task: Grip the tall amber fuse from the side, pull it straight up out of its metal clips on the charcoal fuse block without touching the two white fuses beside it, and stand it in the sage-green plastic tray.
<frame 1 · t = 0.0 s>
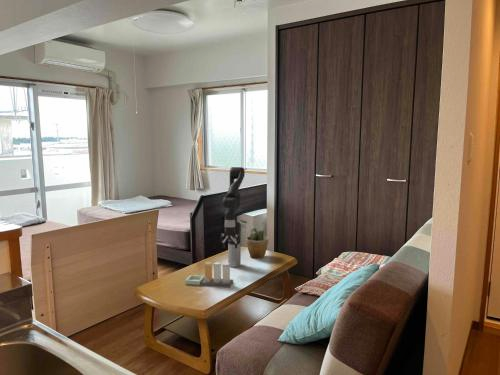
hand: (229, 248, 268), 17 cm above the table, tool pointing down, fingers open, 8 cm apart
amber fuse: (208, 280, 248), point 2 cm above the table, touching fuse block
end white fuse: (226, 281, 245), point 2 cm above the table, touching fuse block
potted plant: (257, 257, 304), on the table
fuse block: (217, 284, 247), on the table
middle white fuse: (217, 281, 247), point 2 cm above the table, touching fuse block
tray: (195, 282, 250), on the table
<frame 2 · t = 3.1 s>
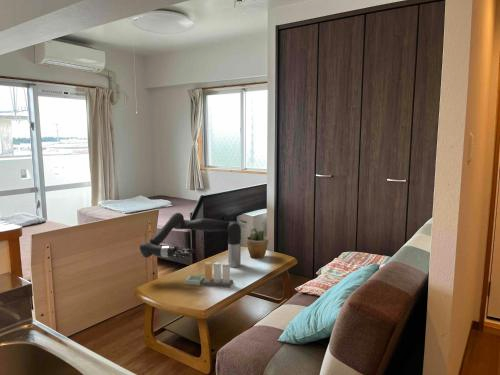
hand: (192, 253, 248), 20 cm above the table, tool horizontal, fingers open, 8 cm apart
nothing on the table moved.
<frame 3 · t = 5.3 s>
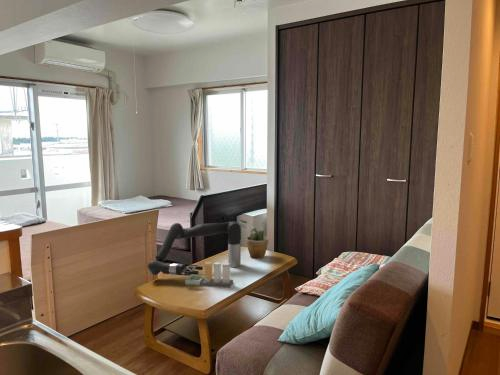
hand: (200, 270, 247), 9 cm above the table, tool horizontal, fingers open, 8 cm apart
nothing on the table moved.
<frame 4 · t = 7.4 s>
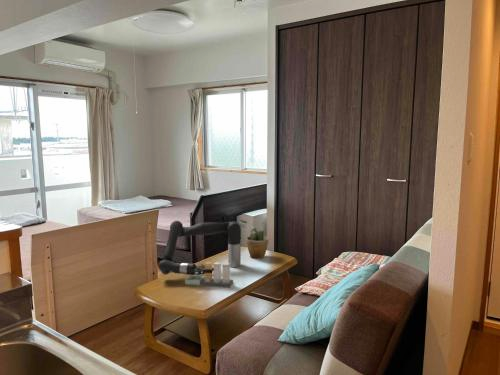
hand: (212, 270, 246), 9 cm above the table, tool horizontal, fingers closed on amber fuse, 3 cm apart
amber fuse: (208, 280, 248), point 2 cm above the table, touching fuse block, gripper
everything else where it was.
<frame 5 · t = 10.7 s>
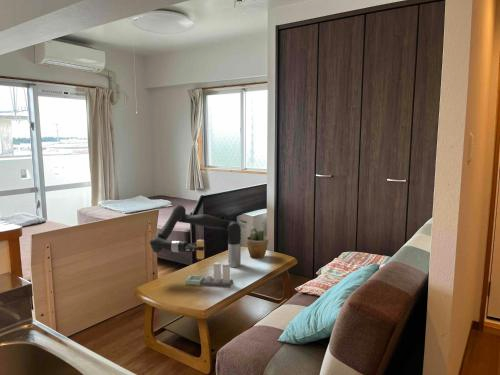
hand: (204, 248, 245), 24 cm above the table, tool horizontal, fingers closed on amber fuse, 3 cm apart
amber fuse: (200, 258, 247), point 17 cm above the table, touching gripper
everything else where it was.
when the fingers open (10 cm above the table, at t = 14.0 s): amber fuse drops 3 cm, resting on tray.
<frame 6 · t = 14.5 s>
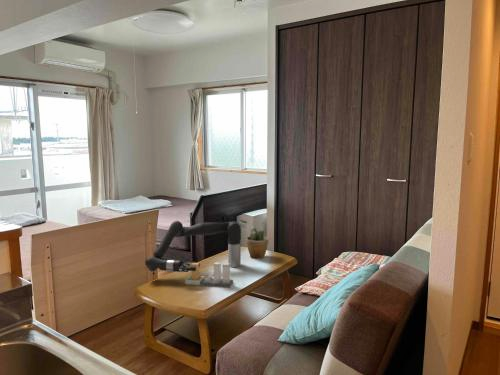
hand: (197, 267, 248), 11 cm above the table, tool horizontal, fingers open, 7 cm apart
amber fuse: (195, 281, 250), point 1 cm above the table, touching tray
everything else where it was.
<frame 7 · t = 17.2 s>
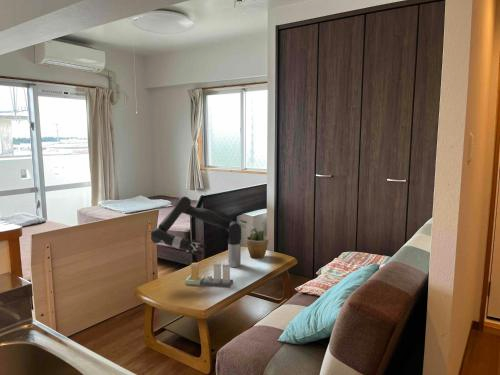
hand: (204, 250, 247), 22 cm above the table, tool tilted 75°, fingers open, 8 cm apart
nothing on the table moved.
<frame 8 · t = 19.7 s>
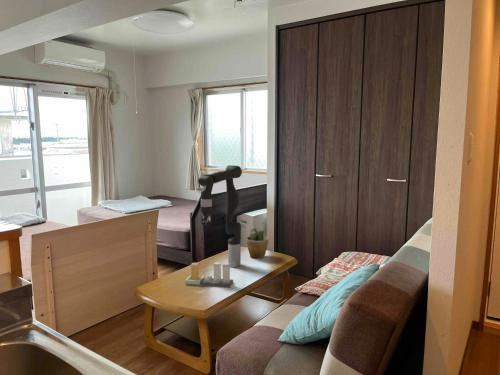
hand: (206, 229, 254), 34 cm above the table, tool pointing down, fingers open, 8 cm apart
nothing on the table moved.
at the end: amber fuse inside the target area on the tray (0.1 cm from its centre), point 0.8 cm above the tray's base; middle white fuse moved 0.0 cm from its start; end white fuse moved 0.0 cm from its start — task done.
